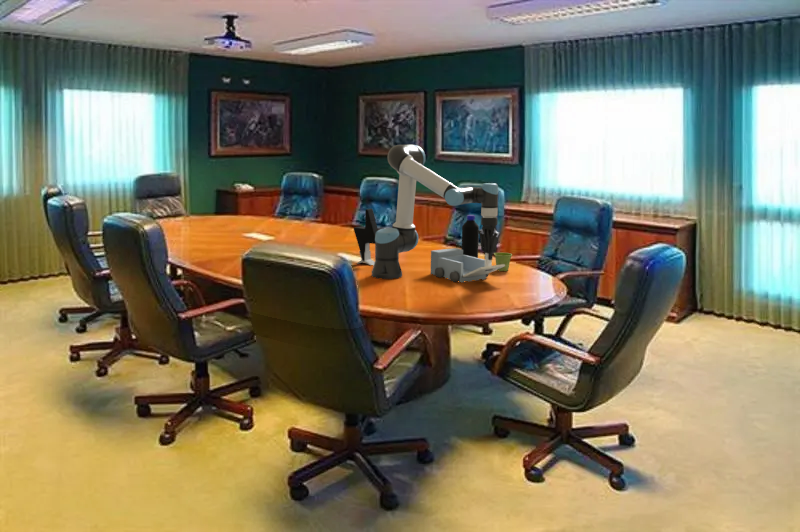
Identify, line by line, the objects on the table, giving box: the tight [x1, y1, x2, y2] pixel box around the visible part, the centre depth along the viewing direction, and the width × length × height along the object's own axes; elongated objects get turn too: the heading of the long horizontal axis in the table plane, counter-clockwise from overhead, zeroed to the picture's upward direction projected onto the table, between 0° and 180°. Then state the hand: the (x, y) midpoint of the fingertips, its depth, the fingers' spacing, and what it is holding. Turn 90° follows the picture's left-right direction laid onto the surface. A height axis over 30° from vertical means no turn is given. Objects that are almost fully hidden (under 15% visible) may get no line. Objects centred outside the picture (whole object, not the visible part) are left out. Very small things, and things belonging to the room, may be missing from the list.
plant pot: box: [493, 252, 513, 272], centre depth 369 cm, size 9×9×9 cm
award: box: [353, 208, 379, 266], centre depth 381 cm, size 15×5×30 cm, turn 58°
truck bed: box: [430, 247, 490, 283], centre depth 352 cm, size 21×24×12 cm
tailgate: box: [462, 264, 505, 278], centre depth 336 cm, size 15×1×15 cm
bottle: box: [461, 214, 480, 258], centre depth 374 cm, size 9×9×28 cm
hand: (488, 266), depth 333 cm, fingers closed
